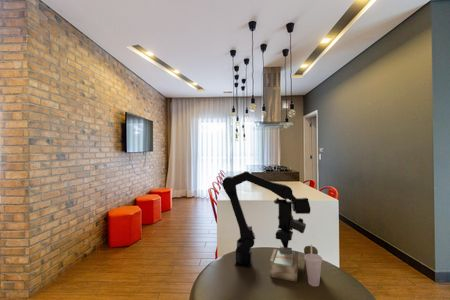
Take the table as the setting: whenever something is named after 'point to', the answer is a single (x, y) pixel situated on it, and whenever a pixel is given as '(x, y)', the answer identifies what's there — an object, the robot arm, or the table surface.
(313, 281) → the smoothie
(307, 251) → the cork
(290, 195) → the robot arm
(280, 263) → the lid
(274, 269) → the box
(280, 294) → the table surface
